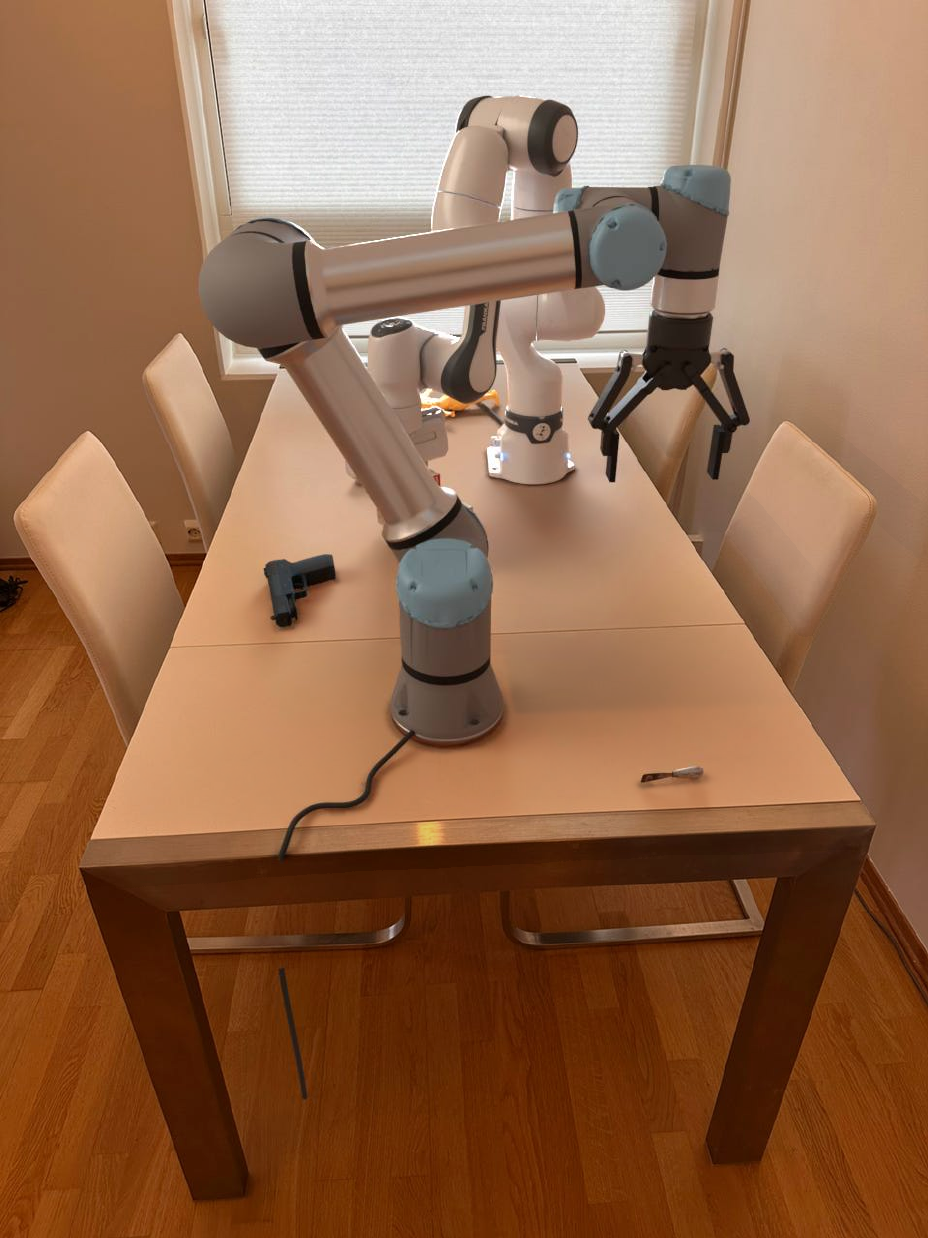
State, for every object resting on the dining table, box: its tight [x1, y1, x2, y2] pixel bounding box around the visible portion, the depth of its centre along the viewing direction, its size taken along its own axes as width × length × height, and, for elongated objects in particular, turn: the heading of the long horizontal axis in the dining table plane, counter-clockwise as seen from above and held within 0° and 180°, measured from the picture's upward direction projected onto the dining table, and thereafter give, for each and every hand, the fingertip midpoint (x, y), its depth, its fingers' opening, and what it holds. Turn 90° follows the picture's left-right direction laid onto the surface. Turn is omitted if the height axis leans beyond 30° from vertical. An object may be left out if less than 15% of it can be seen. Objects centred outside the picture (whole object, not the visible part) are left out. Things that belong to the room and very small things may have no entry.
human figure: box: [421, 388, 500, 418], centre depth 225 cm, size 20×20×4 cm
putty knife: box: [640, 765, 705, 784], centre depth 109 cm, size 1×8×2 cm, turn 103°
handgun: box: [263, 553, 337, 628], centre depth 146 cm, size 3×18×12 cm
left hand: (661, 477), depth 118 cm, fingers open, 13 cm apart
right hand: (400, 490), depth 162 cm, fingers closed on stack of blocks, 6 cm apart
